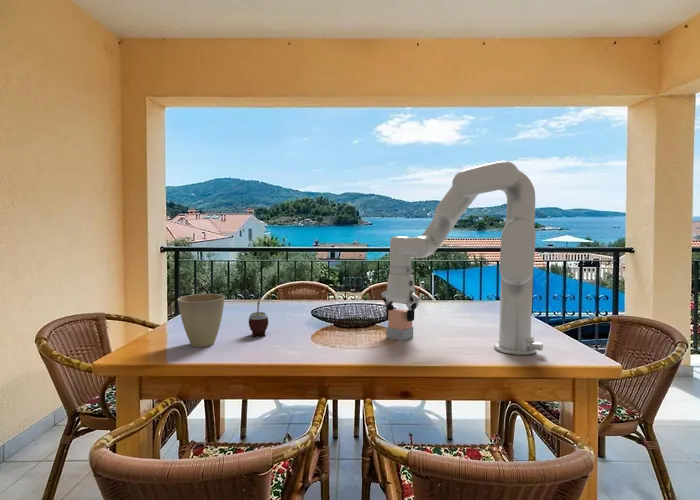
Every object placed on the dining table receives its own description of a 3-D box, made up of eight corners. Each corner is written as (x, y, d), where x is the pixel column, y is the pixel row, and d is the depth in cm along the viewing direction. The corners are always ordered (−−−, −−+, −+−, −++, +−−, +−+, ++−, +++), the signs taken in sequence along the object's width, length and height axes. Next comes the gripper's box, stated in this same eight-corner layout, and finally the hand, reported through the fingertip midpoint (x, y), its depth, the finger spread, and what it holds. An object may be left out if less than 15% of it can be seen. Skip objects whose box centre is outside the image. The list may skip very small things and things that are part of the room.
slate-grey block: (413, 337, 155) (413, 326, 154) (403, 341, 149) (403, 330, 149) (396, 334, 159) (396, 323, 159) (386, 338, 153) (386, 327, 153)
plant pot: (179, 340, 149) (178, 295, 148) (223, 336, 154) (223, 292, 153) (178, 352, 135) (177, 302, 134) (227, 348, 140) (226, 299, 139)
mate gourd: (258, 331, 161) (257, 292, 160) (274, 334, 157) (274, 294, 156) (243, 336, 154) (243, 295, 154) (260, 339, 150) (259, 297, 149)
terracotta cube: (412, 327, 153) (412, 310, 153) (401, 330, 149) (401, 313, 149) (399, 324, 158) (399, 308, 157) (388, 327, 154) (388, 310, 153)
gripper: (426, 272, 149) (425, 321, 150) (389, 268, 161) (388, 313, 162) (412, 274, 143) (412, 324, 145) (375, 269, 156) (375, 316, 157)
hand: (399, 318), depth 153 cm, fingers open, 9 cm apart
